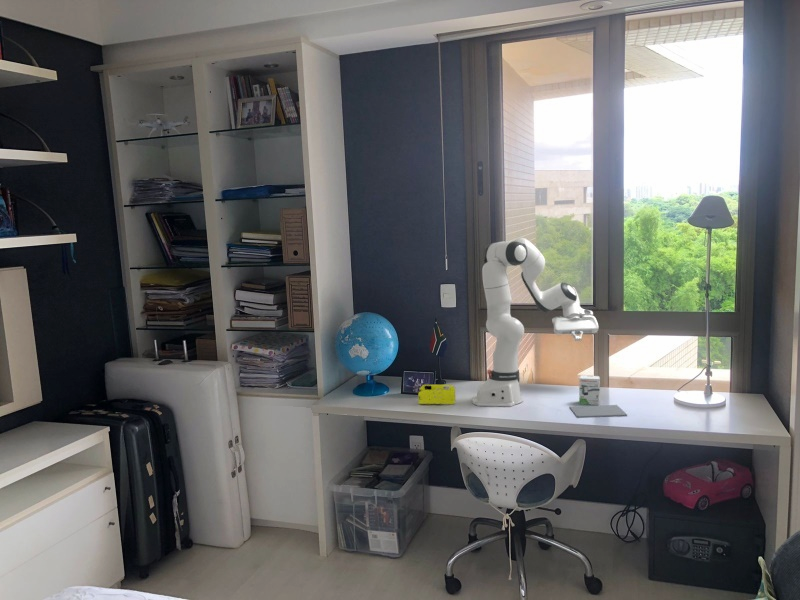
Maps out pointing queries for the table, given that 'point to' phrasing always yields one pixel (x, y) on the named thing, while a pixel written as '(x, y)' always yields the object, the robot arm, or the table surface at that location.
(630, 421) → the table surface
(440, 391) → the yellow camera
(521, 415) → the table surface
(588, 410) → the mat
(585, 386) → the ink box
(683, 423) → the table surface
